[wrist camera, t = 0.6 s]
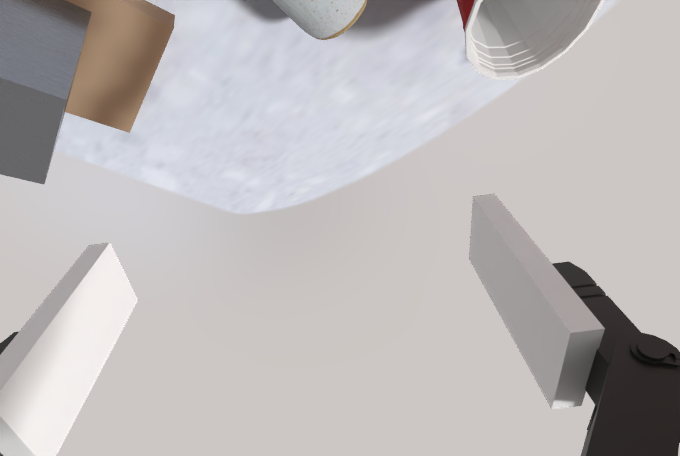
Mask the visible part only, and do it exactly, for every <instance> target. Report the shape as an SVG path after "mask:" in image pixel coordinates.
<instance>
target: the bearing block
mask: <svg viewBox="0 0 680 456" xmlns="http://www.w3.org/2000/svg"><path fill="white" fill-rule="evenodd" d="M91 13H92V12H90V11H88V10H86V9H84V8H82V7H79V6H77V5H75V4H73V3H70V2H68V1H66V0H0V174H2V175H6V176H10V177H15V178H19V179H23V180H27V181H32V182H36V183H40V184H44V183H45V180H46V177H47V173H48V169H49V166H50V163H51V159H52V155H53V152H54V149H55V145H56V142H57V138H58V135H59V131H60V128H61V124H62V121H63V117H64V114H65V110H66V107H67V103H68V100H69V96H70V93H71V89H72V85H73V81H74V78H75V74H76V70H77V66H78V62H79V59H80V55H81V51H82V47H83V44H84V40H85V36H86V32H87V29H88V25H89V21H90V17H91Z"/></svg>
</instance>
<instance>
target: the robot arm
mask: <svg viewBox="0 0 680 456" xmlns="http://www.w3.org/2000/svg"><path fill="white" fill-rule="evenodd" d="M469 259H470V261H471V263H472V265H473V266H474V268H475V270H476V272H477V274H478V276H479V277H480V279H481V281H482V283H483V285H484V286H485V288H486V290H487V292H488V294H489V296H490V298H491V299H492V301H493V303H494V305H495V307H496V308H497V310H498V312H499V314H500V316H501V318H502V319H503V321H504V323H505V325H506V327H507V329H508V330H509V332H510V334H511V336H512V338H513V339H514V341H515V343H516V345H517V347H518V349H519V351H520V352H521V354H522V356H523V358H524V359H525V361H526V363H527V365H528V367H529V369H530V371H531V372H532V374H533V376H534V378H535V380H536V382H537V383H538V385H539V387H540V389H541V391H542V393H543V394H544V396H545V398H546V400H547V402H548V403H549V405H550V407H551V409H558V408H567V407H575V406H581V405H582V402H583V399H584V395H585V392H586V391H587V393H588V394H589V396H590V397H591V399H592V400H593V402H594V403H595V408H594V411H593V413H592V416H591V420H590V423H589V425H588V428H587V430H588V432H587V436H586V439H585V443H584V447H583V450H582V454H581V456H678V447H679V443H680V352H679V351H678V349H677V348H675V347H674V346H673V345H671V344H670V343H668V342H667V341H665V340H663V339H660V338H658V337H656V336H653V335H649V334H645V333H641V332H640V331H639V330H638V329H637V328H636V326H635V325H634V324H633V323H632V322H631V321H630V320H629V319H628V318H627V317H626V315H624V313H623V312H622V311H621V310H620V309H619V308H618V307H617V306H616V305H615V303H614V302H613V301H612V300H611V299H610V298H609V297H608V296H606V295H605V292H604V291H603V290H602V289H601V288H600V287H599V286H597V285H596V283H595V281H594V280H593V279H592V278H591V277H590V276H589V275H588V274H587V273H586V272H585V271H584V270H582V269H581V268H579V267H577V266H575V265H574V264H572V263H570V262H563V263H554V264H552V263H551V262H550V261H549V260H548V259H547V257H546V256H545V255H544V254H543V253H542V251H541V250H540V249H539V248H538V246H537V245H536V244H535V243H534V241H533V240H532V239H531V238H530V237H529V235H528V234H527V233H526V232H525V230H524V229H523V228H522V227H521V226H520V225H519V223H518V222H517V221H516V220H515V218H514V217H513V216H512V215H511V214H510V212H509V211H508V210H507V209H506V207H505V206H504V205H503V204H502V203H501V201H500V200H499V199H498V198H497V196H496V195H495V194H489V195H480V196H473V204H472V220H471V236H470V253H469ZM137 301H138V299H137V297H136V295H135V293H134V291H133V289H132V287H131V285H130V283H129V281H128V279H127V276H126V275H125V272H124V270H123V268H122V266H121V264H120V262H119V260H118V258H117V256H116V254H115V252H114V250H113V247H112V245H111V243H102V244H94V245H89V246H88V247H87V248H86V250H85V251H84V252H83V253H82V255H81V256H80V257H79V258H78V259H77V261H76V262H75V263H74V264H73V266H72V267H71V268H70V269H69V271H68V272H67V273H66V275H65V276H64V277H63V278H62V280H60V282H59V283H58V284H57V286H56V287H55V288H54V289H53V290H52V292H51V293H50V294H49V295H48V297H47V298H46V299H45V300H44V302H43V303H42V304H41V305H40V307H39V308H38V309H37V310H36V311H35V313H34V314H33V315H32V316H31V318H30V319H29V320H28V322H27V323H26V324H25V325H24V326H23V328H22V329H21V330H20V331H19V332H14V333H13V334H12V335H10V336H9V337H8V338H7V339H6V340H4V341H3V342H2V343H0V456H56V455H57V453H58V451H59V450H60V447H61V445H62V444H63V442H64V440H65V438H66V436H67V434H68V432H69V431H70V429H71V427H72V425H73V423H74V421H75V419H76V417H77V415H78V413H79V412H80V410H81V407H82V406H83V404H84V402H85V400H86V398H87V396H88V394H89V392H90V391H91V389H92V387H93V385H94V383H95V381H96V379H97V377H98V375H99V373H100V371H101V370H102V368H103V366H104V364H105V362H106V359H107V358H108V356H109V354H110V352H111V350H112V349H113V347H114V345H115V343H116V341H117V339H118V337H119V335H120V333H121V332H122V330H123V328H124V326H125V324H126V322H127V320H128V318H129V316H130V314H131V312H132V311H133V309H134V306H135V305H136V303H137Z"/></svg>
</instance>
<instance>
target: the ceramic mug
mask: <svg viewBox="0 0 680 456" xmlns="http://www.w3.org/2000/svg"><path fill="white" fill-rule="evenodd" d="M272 1H273V2H274V3H275V4H276V5H277V6H278V7H279V8H281V9H282V10H283V11H284V12H285V13H286V14H287V15H288V16H289V17H290V18H291V19H292V20H293V21H294V22H295V23H296V24H297V25H298V26H299V27H300V28H302V29H303V30H304V31H305V32H306V33H308V34H309V35H311V36H313V37H314V38H316V39H321V40H327V39H331V38H335V37H337V36H339V35H340V34H342V33H344V32H345V31H347V30H348V29H349V28H350V27H351V26H352V25H353V24H354V23H355V22H356V21H357V19H358V18H359V17H360V15H361V14H362V12H363V11H364V9H365V6H366V4H367V1H368V0H272Z"/></svg>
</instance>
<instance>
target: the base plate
mask: <svg viewBox="0 0 680 456" xmlns="http://www.w3.org/2000/svg"><path fill="white" fill-rule="evenodd" d="M66 1H68V2H70V3H73V4H75V5H77V6H79V7H82V8H84V9H86V10H88V11H90V12H92V13H91V17H90V21H89V25H88V29H87V32H86V36H85V40H84V44H83V47H82V51H81V55H80V59H79V62H78V66H77V70H76V74H75V78H74V81H73V85H72V89H71V93H70V96H69V100H68V103H67V107H66V110H65V112H67V113H70V114H73V115H77V116H80V117H83V118H86V119H89V120H92V121H95V122H98V123H101V124H104V125H107V126H111V127H114V128H117V129H120V130H123V131H126V132H129V133H130V130H131V128H132V126H133V123H134V121H135V119H136V116H137V114H138V111H139V109H140V107H141V104H142V102H143V100H144V97H145V95H146V92H147V90H148V88H149V85H150V83H151V81H152V78H153V76H154V73H155V71H156V69H157V66H158V64H159V62H160V59H161V57H162V54H163V52H164V50H165V47H166V45H167V43H168V40H169V38H170V35H171V33H172V31H173V28H174V19H175V15H173V14H171V13H169V12H167V11H165V10H163V9H161V8H159V7H157V6H155V5H153V4H151V3H149V2H147V1H145V0H66Z"/></svg>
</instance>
